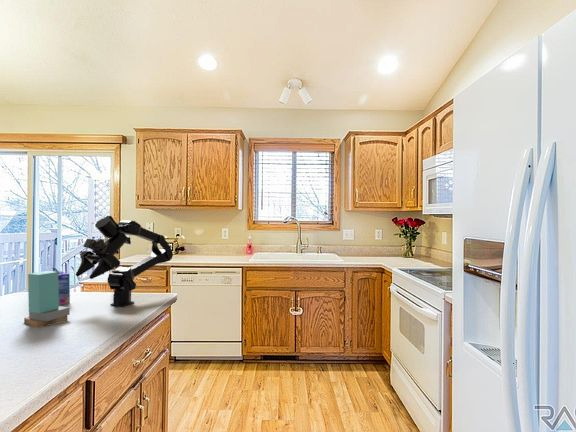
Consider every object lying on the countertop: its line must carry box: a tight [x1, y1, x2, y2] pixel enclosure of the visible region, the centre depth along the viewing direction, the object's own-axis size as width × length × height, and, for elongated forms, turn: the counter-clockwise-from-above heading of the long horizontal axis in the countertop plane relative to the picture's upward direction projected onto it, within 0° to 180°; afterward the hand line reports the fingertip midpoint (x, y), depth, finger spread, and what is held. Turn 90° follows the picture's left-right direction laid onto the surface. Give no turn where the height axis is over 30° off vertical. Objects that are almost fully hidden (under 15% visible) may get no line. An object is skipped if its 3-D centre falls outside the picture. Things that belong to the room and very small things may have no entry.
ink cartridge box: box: [52, 267, 71, 306], centre depth 138 cm, size 10×6×14 cm, turn 54°
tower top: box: [28, 305, 71, 321], centre depth 113 cm, size 8×8×2 cm
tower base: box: [23, 315, 68, 329], centre depth 113 cm, size 9×9×2 cm
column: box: [27, 270, 60, 313], centre depth 112 cm, size 6×6×12 cm
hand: (83, 276), depth 123 cm, fingers open, 9 cm apart
